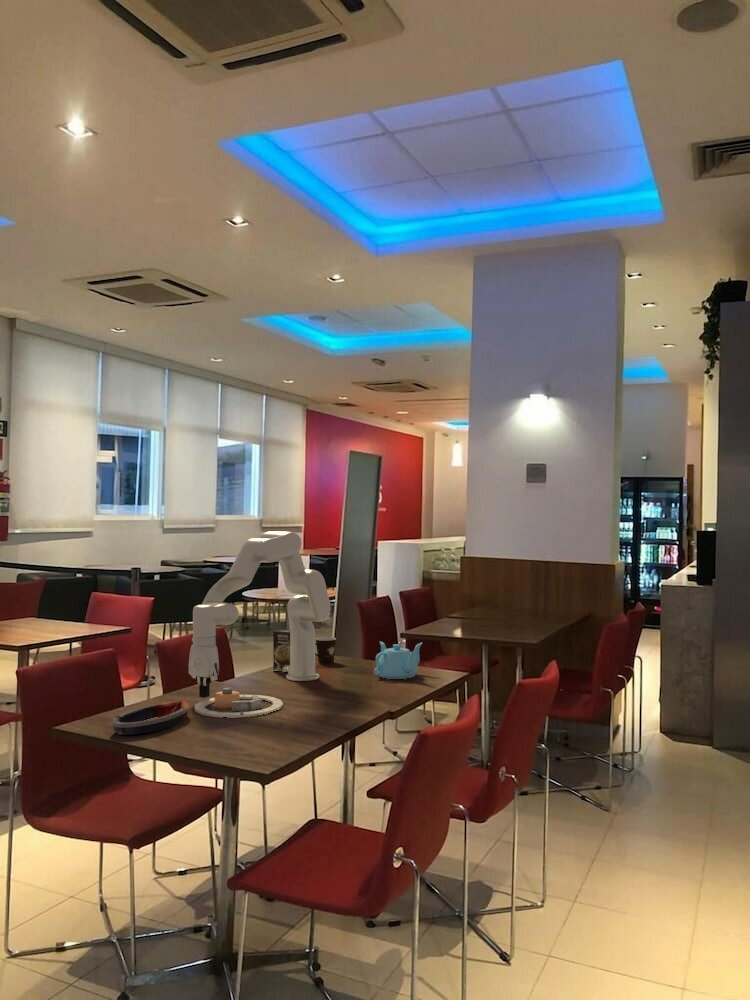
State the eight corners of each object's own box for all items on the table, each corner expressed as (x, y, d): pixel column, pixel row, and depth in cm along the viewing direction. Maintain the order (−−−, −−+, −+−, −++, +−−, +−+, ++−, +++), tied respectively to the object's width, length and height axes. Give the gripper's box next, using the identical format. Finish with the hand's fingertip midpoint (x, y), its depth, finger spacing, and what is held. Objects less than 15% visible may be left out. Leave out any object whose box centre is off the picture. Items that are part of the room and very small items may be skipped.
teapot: (423, 672, 322) (422, 641, 322) (417, 682, 303) (416, 649, 304) (380, 671, 325) (379, 640, 325) (371, 680, 306) (371, 647, 307)
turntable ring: (176, 710, 261) (176, 707, 261) (235, 693, 285) (235, 690, 285) (243, 721, 246) (243, 718, 246) (299, 703, 270) (299, 699, 270)
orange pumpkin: (209, 706, 266) (209, 689, 267) (225, 702, 273) (225, 685, 274) (229, 709, 263) (229, 692, 263) (244, 704, 270) (244, 687, 270)
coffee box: (272, 672, 324) (272, 631, 325) (280, 669, 330) (279, 629, 331) (293, 673, 321) (293, 632, 321) (300, 670, 327) (300, 630, 327)
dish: (96, 735, 233) (96, 717, 233) (168, 711, 261) (168, 696, 261) (137, 742, 226) (137, 724, 226) (207, 717, 254) (207, 701, 254)
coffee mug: (333, 660, 349) (333, 636, 349) (338, 663, 341) (338, 639, 341) (306, 662, 346) (306, 638, 346) (311, 665, 337) (311, 641, 338)
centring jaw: (229, 711, 260) (229, 702, 260) (253, 703, 270) (253, 694, 270) (244, 713, 256) (244, 704, 257) (268, 706, 267) (268, 696, 267)
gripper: (180, 641, 274) (180, 696, 274) (213, 645, 267) (213, 701, 266) (196, 638, 281) (196, 692, 280) (228, 642, 273) (228, 697, 273)
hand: (204, 696), depth 273 cm, fingers closed
